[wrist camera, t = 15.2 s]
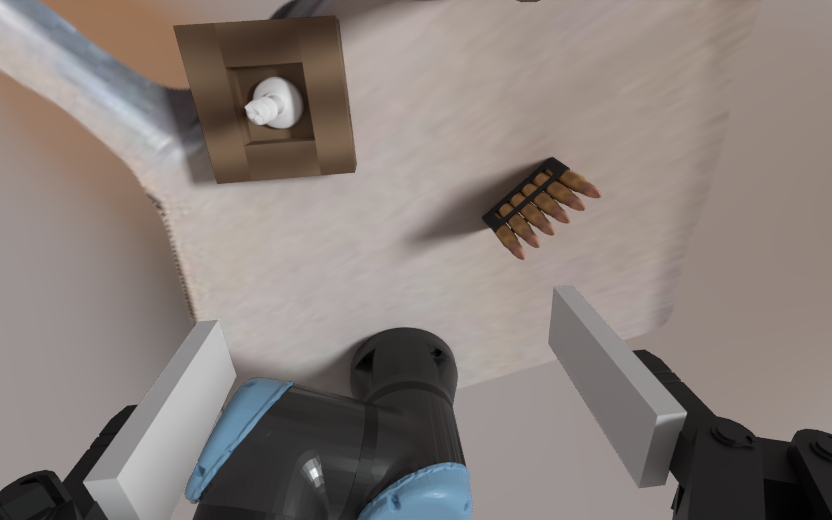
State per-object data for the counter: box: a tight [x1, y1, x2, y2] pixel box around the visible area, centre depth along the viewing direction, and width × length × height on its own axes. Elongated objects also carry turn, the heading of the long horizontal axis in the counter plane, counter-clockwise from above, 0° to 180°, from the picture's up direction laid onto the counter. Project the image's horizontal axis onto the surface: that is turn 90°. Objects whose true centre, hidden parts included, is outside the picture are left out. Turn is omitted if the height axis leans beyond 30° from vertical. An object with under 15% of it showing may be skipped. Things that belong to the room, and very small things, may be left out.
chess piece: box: [245, 77, 304, 129], centre depth 37 cm, size 5×5×10 cm
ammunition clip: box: [482, 157, 601, 260], centre depth 43 cm, size 11×2×12 cm, turn 133°
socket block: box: [173, 16, 357, 184], centre depth 40 cm, size 14×14×4 cm
